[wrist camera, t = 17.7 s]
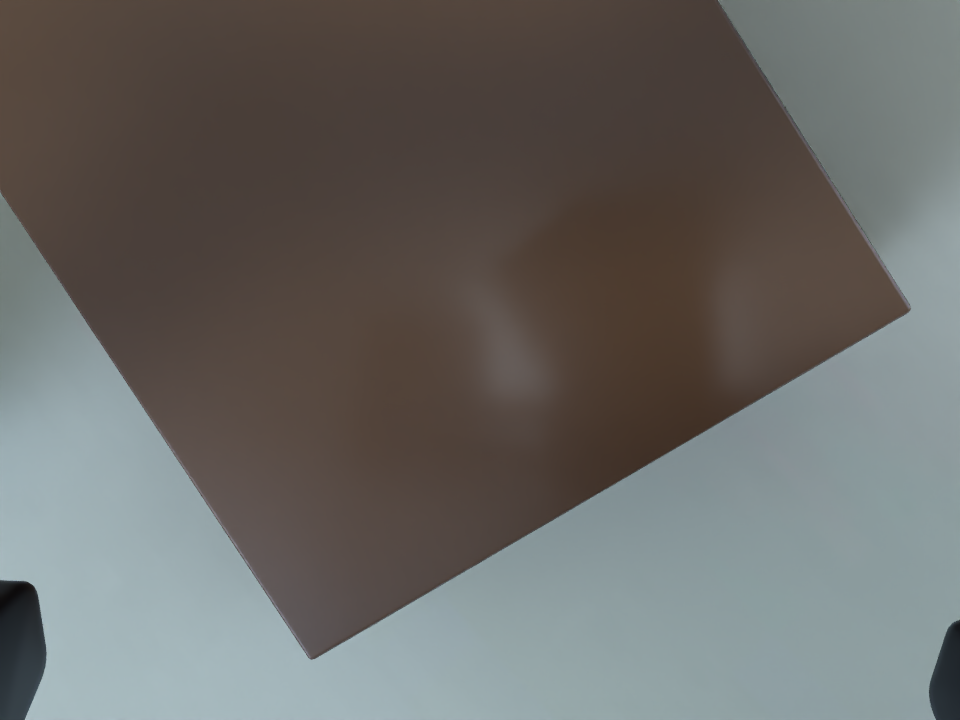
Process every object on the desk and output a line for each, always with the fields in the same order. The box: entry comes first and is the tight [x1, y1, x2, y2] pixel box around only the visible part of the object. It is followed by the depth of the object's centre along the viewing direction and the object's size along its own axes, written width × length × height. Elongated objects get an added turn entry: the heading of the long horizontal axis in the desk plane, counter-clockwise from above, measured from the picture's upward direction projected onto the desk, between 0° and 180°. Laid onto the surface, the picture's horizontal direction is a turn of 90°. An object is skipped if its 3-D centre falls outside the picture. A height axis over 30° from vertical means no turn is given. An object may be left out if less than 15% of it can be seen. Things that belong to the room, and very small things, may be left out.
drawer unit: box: [0, 0, 911, 660], centre depth 17 cm, size 13×12×5 cm
